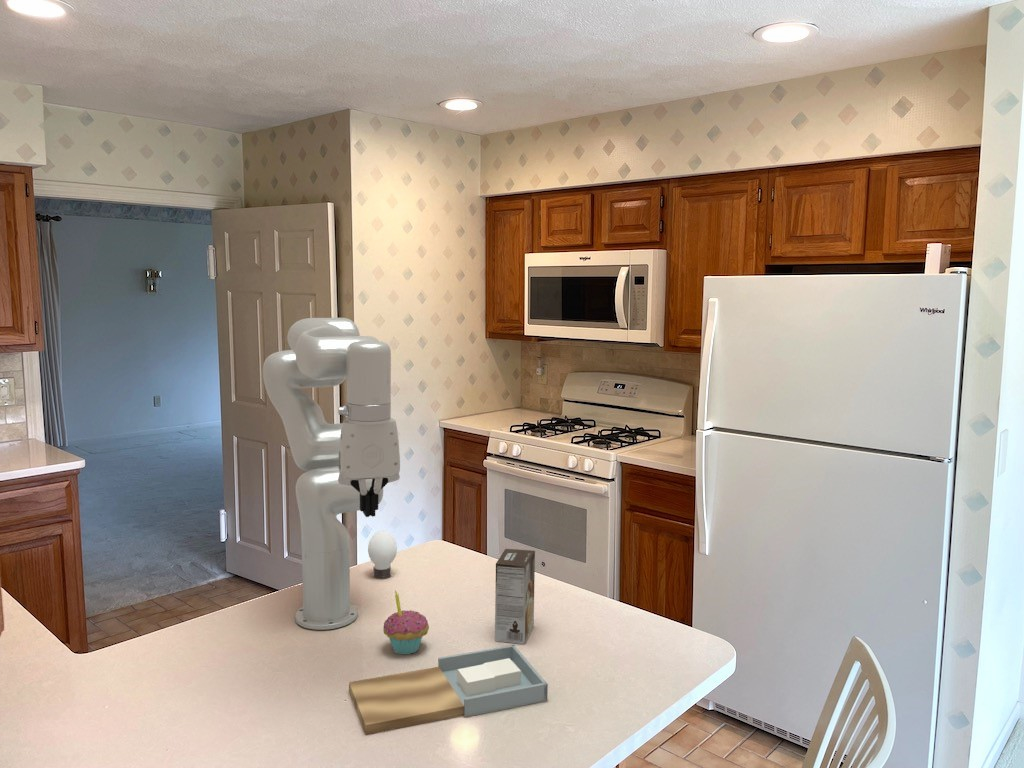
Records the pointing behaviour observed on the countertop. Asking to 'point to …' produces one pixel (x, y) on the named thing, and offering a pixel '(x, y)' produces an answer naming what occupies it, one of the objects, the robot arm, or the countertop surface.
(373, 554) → the light bulb
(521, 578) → the coffee box
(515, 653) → the tray
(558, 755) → the countertop surface
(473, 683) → the tile
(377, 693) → the board
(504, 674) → the tile
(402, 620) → the cupcake
